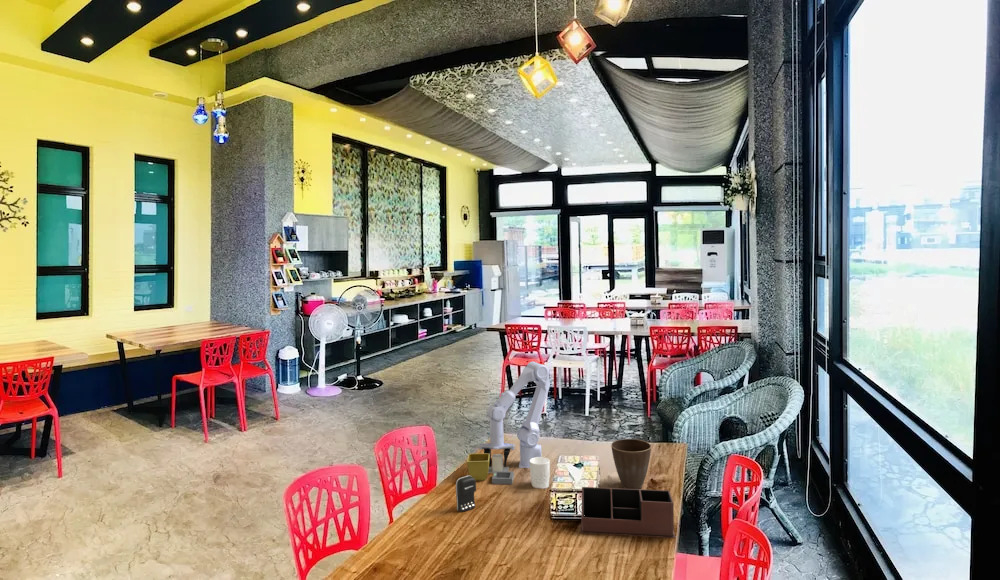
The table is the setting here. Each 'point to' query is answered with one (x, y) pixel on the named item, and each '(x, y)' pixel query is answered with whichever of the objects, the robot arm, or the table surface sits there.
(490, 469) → the mat
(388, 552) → the table surface
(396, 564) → the table surface
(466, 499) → the battery charger
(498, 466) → the plug
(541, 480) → the white cup
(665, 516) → the desk organizer
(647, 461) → the plant pot
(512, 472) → the socket housing
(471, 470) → the flower pot
